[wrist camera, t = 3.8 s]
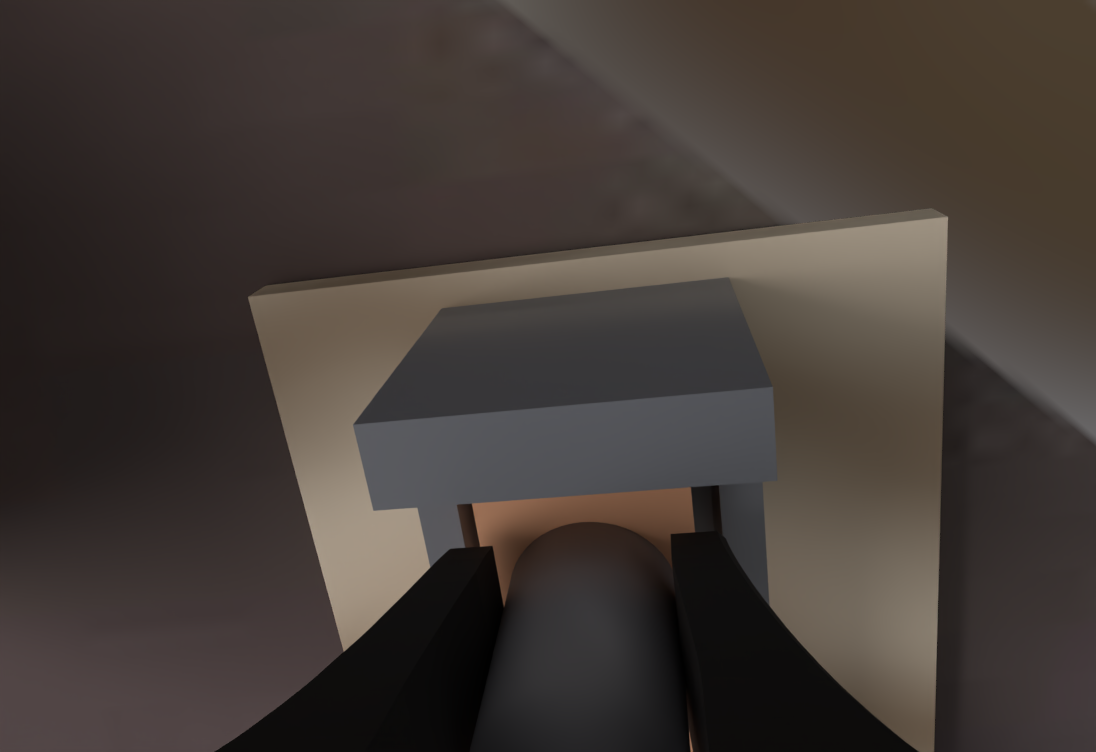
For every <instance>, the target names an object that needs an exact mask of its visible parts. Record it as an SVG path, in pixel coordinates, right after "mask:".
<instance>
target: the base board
mask: <svg viewBox="0 0 1096 752" xmlns="http://www.w3.org/2000/svg"><path fill="white" fill-rule="evenodd" d="M947 235H948V217H947V216H946V215H944V214H942V213H940V212H938V211H936V210H934V209H933V208H929V209H920V210H912V211H903V212H894V213H886V214H877V215H869V216H860V217H851V218H843V219H834V220H825V221H817V222H808V223H799V224H791V225H782V226H774V227H765V228H756V229H748V230H739V231H730V232H722V233H713V234H705V235H696V236H687V237H679V238H670V239H662V240H653V241H644V242H636V243H627V244H618V245H610V246H601V247H593V248H584V249H575V250H567V251H558V252H550V253H541V254H532V255H524V256H515V257H506V258H498V259H489V260H481V261H472V262H463V263H455V264H446V265H438V266H429V267H420V268H412V269H403V270H394V271H386V272H377V273H369V274H360V275H351V276H343V277H334V278H326V279H317V280H308V281H300V282H291V283H282V284H274V285H266V286H264V287H263V288H261V289H260V290H258V291H256V292H255V293H253V294H252V295H250V296H248V299H249V303H250V307H251V311H252V314H253V318H254V322H255V325H256V329H257V333H258V336H259V340H260V344H261V347H262V351H263V355H264V359H265V362H266V366H267V370H268V373H269V377H270V381H271V384H272V388H273V392H274V395H275V399H276V403H277V407H278V410H279V414H280V418H281V421H282V425H283V429H284V432H285V436H286V440H287V443H288V447H289V451H290V455H291V458H292V462H293V466H294V469H295V473H296V477H297V480H298V484H299V488H300V491H301V495H302V499H303V503H304V506H305V510H306V514H307V517H308V521H309V525H310V528H311V532H312V536H313V539H314V543H315V547H316V551H317V554H318V558H319V562H320V565H321V569H322V573H323V576H324V580H325V584H326V588H327V591H328V595H329V599H330V602H331V606H332V610H333V613H334V617H335V621H336V624H337V628H338V632H339V636H340V639H341V643H342V647H343V650H344V651H345V650H346V649H348V648H349V647H350V646H351V645H352V644H353V643H354V642H355V641H357V640H358V639H359V638H360V637H361V636H362V635H363V634H364V633H365V632H366V631H368V630H369V629H370V628H371V627H372V626H373V625H374V624H375V623H376V622H377V621H378V620H379V619H380V618H381V617H382V616H383V615H384V614H385V613H386V612H387V611H388V610H389V609H390V608H391V607H392V606H393V605H394V604H395V603H396V602H397V601H398V600H399V599H400V598H401V597H402V596H403V595H404V594H405V593H406V592H407V591H408V590H409V589H410V588H411V587H412V586H413V585H414V584H415V583H416V582H417V581H418V580H419V579H420V578H421V577H422V576H423V575H424V573H425V572H426V571H427V570H428V569H429V568H430V564H429V559H428V554H427V550H426V545H425V541H424V536H423V531H422V527H421V522H420V518H419V513H418V509H417V508H405V509H391V510H378V511H373V507H372V503H371V499H370V494H369V490H368V486H367V482H366V478H365V474H364V469H363V465H362V461H361V457H360V453H359V448H358V444H357V440H356V436H355V432H354V428H353V424H354V423H355V421H356V420H357V419H358V417H359V416H360V415H361V413H362V412H363V411H364V409H365V408H366V407H367V406H368V404H369V403H370V402H371V400H372V399H373V398H374V396H375V395H376V394H377V392H378V391H379V390H380V388H381V387H382V386H383V385H384V383H385V382H386V381H387V379H388V378H389V377H390V375H391V374H392V373H393V371H394V370H395V369H396V367H397V366H398V365H399V364H400V362H401V361H402V360H403V358H404V357H405V356H406V354H407V353H408V352H409V350H410V349H411V348H412V346H413V345H414V344H415V343H416V341H417V340H418V339H419V337H420V336H421V335H422V333H423V332H424V331H425V329H426V328H427V327H428V325H429V324H430V323H431V322H432V320H433V319H434V318H435V316H436V315H437V314H438V312H439V311H440V310H441V308H449V307H458V306H467V305H477V304H486V303H495V302H504V301H513V300H523V299H532V298H541V297H550V296H560V295H569V294H578V293H587V292H596V291H606V290H615V289H624V288H633V287H642V286H652V285H661V284H670V283H679V282H688V281H698V280H707V279H716V278H725V277H729V279H730V282H731V284H732V287H733V289H734V292H735V294H736V297H737V299H738V302H739V304H740V307H741V309H742V312H743V314H744V317H745V319H746V322H747V324H748V327H749V329H750V332H751V334H752V336H753V339H754V341H755V344H756V346H757V349H758V351H759V354H760V356H761V359H762V361H763V364H764V366H765V369H766V371H767V374H768V376H769V379H770V381H771V384H772V386H773V400H774V420H775V440H776V460H777V481H768V482H763V499H764V517H765V534H766V552H767V570H768V588H769V606H770V607H771V608H772V610H773V611H774V612H775V613H776V615H777V616H778V617H779V618H780V620H781V621H782V622H783V623H784V625H785V626H786V627H787V628H788V629H789V631H790V632H791V633H792V634H793V635H794V636H795V638H796V639H797V640H798V641H799V642H800V643H801V644H802V645H803V647H804V648H805V649H806V650H807V651H808V652H809V653H810V654H811V655H812V656H813V657H814V658H815V659H816V661H817V662H818V663H819V664H820V665H821V666H822V667H823V668H824V669H825V670H826V671H827V672H828V673H829V674H830V675H831V676H832V677H833V678H834V679H835V680H836V681H837V682H838V683H839V684H840V685H841V686H842V687H843V688H844V689H845V690H846V691H847V692H848V693H849V694H851V695H852V696H853V697H854V698H855V699H856V700H857V701H858V702H859V703H861V704H862V705H863V706H864V707H865V708H866V709H867V710H868V711H869V712H870V713H872V714H873V715H874V716H875V717H876V718H877V719H879V720H880V721H881V722H882V723H883V724H885V725H886V726H887V727H888V728H889V729H891V730H892V731H893V732H894V733H895V734H897V735H898V736H899V737H900V738H901V739H903V740H904V741H905V742H906V743H908V744H909V745H911V746H912V747H913V748H915V749H916V750H917V751H919V752H934V736H935V697H936V659H937V621H938V582H939V544H940V506H941V468H942V429H943V391H944V353H945V314H946V276H947V238H948V237H947Z"/></svg>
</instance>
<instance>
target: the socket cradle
mask: <svg viewBox="0 0 1096 752" xmlns="http://www.w3.org/2000/svg"><path fill="white" fill-rule="evenodd" d="M353 428H354V432H355V436H356V440H357V444H358V448H359V453H360V457H361V461H362V465H363V469H364V474H365V478H366V482H367V486H368V490H369V494H370V499H371V503H372V507H373V511H378V510H391V509H405V508H417V509H418V513H419V518H420V522H421V527H422V531H423V536H424V541H425V545H426V550H427V554H428V559H429V564H430V567H431V566H432V565H433V564H434V563H435V562H436V561H437V560H438V559H439V558H440V557H441V556H442V555H444V554H445V553H446V552H447V551H448V550H449V549H453V548H468V547H480V543H479V538H478V533H477V527H476V522H475V517H474V512H473V507H472V503H486V502H499V501H512V500H526V499H539V498H553V497H566V496H580V495H593V494H607V493H620V492H633V491H647V490H660V489H674V488H687V487H691V494H692V505H693V517H694V528H695V532H707V531H718V532H719V533H720V534H721V535H723V536H724V537H725V538H726V540H727V542H728V544H729V546H730V548H731V550H732V552H733V554H734V556H735V557H736V559H737V561H738V562H739V564H740V565H741V567H742V569H743V570H744V572H745V573H746V575H747V576H748V577H749V579H750V580H751V582H752V583H753V585H754V586H755V588H756V589H757V590H758V592H759V593H760V594H761V596H762V597H763V598H764V600H765V601H766V602H767V603H768V605H769V588H768V570H767V552H766V534H765V517H764V499H763V482H768V481H777V460H776V440H775V420H774V400H773V386H772V384H771V381H770V379H769V376H768V374H767V371H766V369H765V366H764V364H763V361H762V359H761V356H760V354H759V351H758V349H757V346H756V344H755V341H754V339H753V336H752V334H751V332H750V329H749V327H748V324H747V322H746V319H745V317H744V314H743V312H742V309H741V307H740V304H739V302H738V299H737V297H736V294H735V292H734V289H733V287H732V284H731V282H730V279H729V277H725V278H716V279H707V280H698V281H688V282H679V283H670V284H661V285H652V286H642V287H633V288H624V289H615V290H606V291H596V292H587V293H578V294H569V295H560V296H550V297H541V298H532V299H523V300H513V301H504V302H495V303H486V304H477V305H467V306H458V307H449V308H441V310H440V311H439V312H438V314H437V315H436V316H435V318H434V319H433V320H432V322H431V323H430V324H429V325H428V327H427V328H426V329H425V331H424V332H423V333H422V335H421V336H420V337H419V339H418V340H417V341H416V343H415V344H414V345H413V346H412V348H411V349H410V350H409V352H408V353H407V354H406V356H405V357H404V358H403V360H402V361H401V362H400V364H399V365H398V366H397V367H396V369H395V370H394V371H393V373H392V374H391V375H390V377H389V378H388V379H387V381H386V382H385V383H384V385H383V386H382V387H381V388H380V390H379V391H378V392H377V394H376V395H375V396H374V398H373V399H372V400H371V402H370V403H369V404H368V406H367V407H366V408H365V409H364V411H363V412H362V413H361V415H360V416H359V417H358V419H357V420H356V421H355V423H354V424H353Z"/></svg>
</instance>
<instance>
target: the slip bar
mask: <svg viewBox="0 0 1096 752" xmlns="http://www.w3.org/2000/svg"><path fill="white" fill-rule="evenodd" d="M472 507H473V512H474V517H475V522H476V527H477V533H478V538H479V543H480V547H483V546H493V551H494V556H495V561H496V567H497V572H498V578H499V583H500V588H501V594H502V599H503V604H504V609H503V613H502V618H501V622H500V626H499V630H498V634H497V638H496V643H495V647H494V651H493V655H492V659H491V663H490V668H489V672H488V676H487V680H486V684H485V688H484V693H483V697H482V701H481V705H480V709H479V713H478V718H477V722H476V726H475V730H474V734H473V738H472V743H471V747H470V752H693V749H692V744H691V738H690V733H689V724H688V711H687V697H686V684H685V674H684V667H683V660H682V654H681V647H680V637H679V627H678V617H677V608H676V598H675V588H674V578H673V568H672V558H671V534H677V533H692V532H695V528H694V517H693V505H692V494H691V487H687V488H674V489H660V490H647V491H633V492H620V493H607V494H593V495H580V496H566V497H553V498H539V499H526V500H512V501H499V502H486V503H472Z"/></svg>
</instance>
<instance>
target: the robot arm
mask: <svg viewBox="0 0 1096 752" xmlns="http://www.w3.org/2000/svg"><path fill="white" fill-rule="evenodd" d="M671 558H672V568H673V578H674V588H675V598H676V608H677V617H678V627H679V637H680V647H681V654H682V660H683V667H684V674H685V684H686V697H687V711H688V724H689V733H690V738H691V744H692V749H693V752H919V751H917V750H916V749H915V748H913V747H912V746H911V745H909V744H908V743H906V742H905V741H904V740H903V739H901V738H900V737H899V736H898V735H897V734H895V733H894V732H893V731H892V730H891V729H889V728H888V727H887V726H886V725H885V724H883V723H882V722H881V721H880V720H879V719H877V718H876V717H875V716H874V715H873V714H872V713H870V712H869V711H868V710H867V709H866V708H865V707H864V706H863V705H862V704H861V703H859V702H858V701H857V700H856V699H855V698H854V697H853V696H852V695H851V694H849V693H848V692H847V691H846V690H845V689H844V688H843V687H842V686H841V685H840V684H839V683H838V682H837V681H836V680H835V679H834V678H833V677H832V676H831V675H830V674H829V673H828V672H827V671H826V670H825V669H824V668H823V667H822V666H821V665H820V664H819V663H818V662H817V661H816V659H815V658H814V657H813V656H812V655H811V654H810V653H809V652H808V651H807V650H806V649H805V648H804V647H803V645H802V644H801V643H800V642H799V641H798V640H797V639H796V638H795V636H794V635H793V634H792V633H791V632H790V631H789V629H788V628H787V627H786V626H785V625H784V623H783V622H782V621H781V620H780V618H779V617H778V616H777V615H776V613H775V612H774V611H773V610H772V608H771V607H770V606H769V605H768V603H767V602H766V601H765V600H764V598H763V597H762V596H761V594H760V593H759V592H758V590H757V589H756V588H755V586H754V585H753V583H752V582H751V580H750V579H749V577H748V576H747V575H746V573H745V572H744V570H743V569H742V567H741V565H740V564H739V562H738V561H737V559H736V557H735V556H734V554H733V552H732V550H731V548H730V546H729V544H728V542H727V540H726V538H725V537H724V536H723V535H721V534H720V533H719V532H718V531H707V532H692V533H677V534H671ZM503 609H504V604H503V599H502V594H501V588H500V583H499V578H498V572H497V567H496V561H495V556H494V551H493V546H483V547H468V548H453V549H449V550H448V551H447V552H446V553H445V554H444V555H442V556H441V557H440V558H439V559H438V560H437V561H436V562H435V563H434V564H433V565H432V566H431V567H430V568H429V569H428V570H427V571H426V572H425V573H424V575H423V576H422V577H421V578H420V579H419V580H418V581H417V582H416V583H415V584H414V585H413V586H412V587H411V588H410V589H409V590H408V591H407V592H406V593H405V594H404V595H403V596H402V597H401V598H400V599H399V600H398V601H397V602H396V603H395V604H394V605H393V606H392V607H391V608H390V609H389V610H388V611H387V612H386V613H385V614H384V615H383V616H382V617H381V618H380V619H379V620H378V621H377V622H376V623H375V624H374V625H373V626H372V627H371V628H370V629H369V630H368V631H366V632H365V633H364V634H363V635H362V636H361V637H360V638H359V639H358V640H357V641H355V642H354V643H353V644H352V645H351V646H350V647H349V648H348V649H346V650H345V651H344V652H343V653H342V654H341V655H340V656H339V657H338V658H336V659H335V660H334V661H333V662H332V663H331V664H330V665H329V666H327V667H326V668H325V669H324V670H323V671H322V672H321V673H320V674H319V675H317V676H316V677H315V678H314V679H313V680H312V681H310V682H309V683H308V684H307V685H306V686H304V687H303V688H302V689H301V690H300V691H298V692H297V693H296V694H294V695H293V696H292V697H291V698H289V699H288V700H287V701H286V702H284V703H283V704H282V705H280V706H279V707H278V708H276V709H275V710H274V711H272V712H271V713H270V714H268V715H267V716H266V717H264V718H263V719H262V720H260V721H259V722H258V723H256V724H255V725H253V726H252V727H251V728H249V729H248V730H247V731H245V732H244V733H242V734H241V735H239V736H238V737H237V738H235V739H234V740H232V741H231V742H229V743H228V744H226V745H224V746H223V747H221V748H220V749H218V750H217V751H215V752H470V747H471V743H472V738H473V734H474V730H475V726H476V722H477V718H478V713H479V709H480V705H481V701H482V697H483V693H484V688H485V684H486V680H487V676H488V672H489V668H490V663H491V659H492V655H493V651H494V647H495V643H496V638H497V634H498V630H499V626H500V622H501V618H502V613H503Z"/></svg>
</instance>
